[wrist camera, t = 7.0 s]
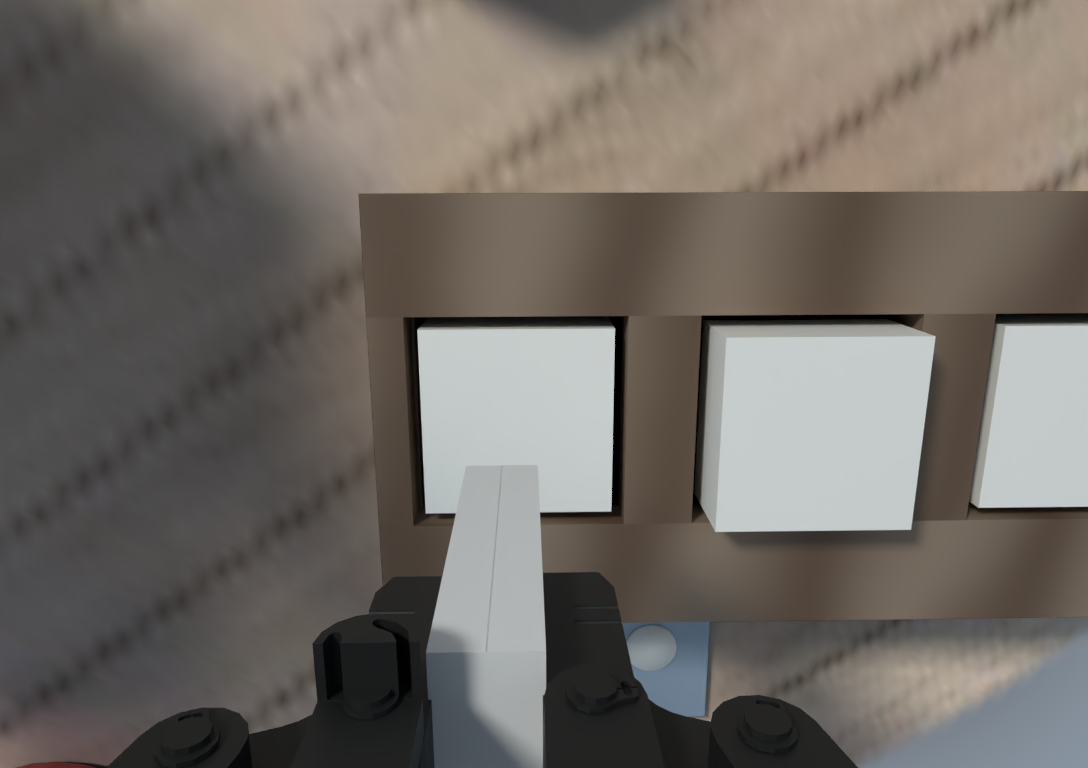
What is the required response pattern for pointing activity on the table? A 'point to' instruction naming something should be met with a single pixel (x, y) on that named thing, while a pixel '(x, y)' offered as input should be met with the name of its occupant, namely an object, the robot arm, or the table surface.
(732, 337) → the middle button
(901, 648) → the table surface
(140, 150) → the table surface
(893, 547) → the button box
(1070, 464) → the outer button
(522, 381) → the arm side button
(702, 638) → the pattern card
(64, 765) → the citrus juicer
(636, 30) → the table surface
